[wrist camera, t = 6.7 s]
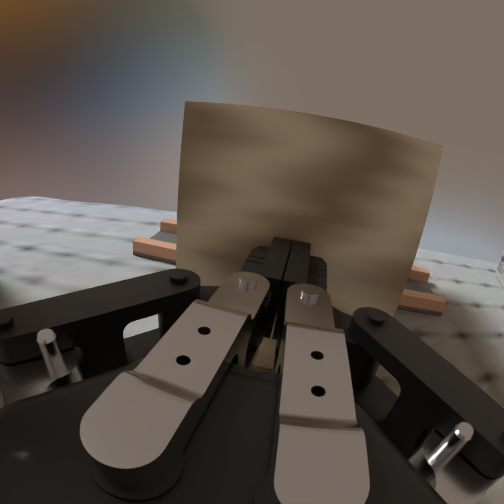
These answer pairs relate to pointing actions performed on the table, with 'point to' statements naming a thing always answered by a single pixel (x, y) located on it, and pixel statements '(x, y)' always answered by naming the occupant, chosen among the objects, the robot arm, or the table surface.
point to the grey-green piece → (413, 299)
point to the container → (501, 270)
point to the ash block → (303, 199)
